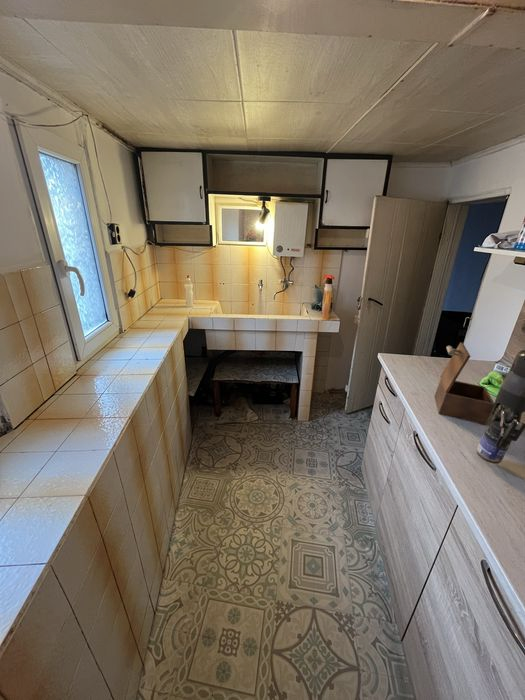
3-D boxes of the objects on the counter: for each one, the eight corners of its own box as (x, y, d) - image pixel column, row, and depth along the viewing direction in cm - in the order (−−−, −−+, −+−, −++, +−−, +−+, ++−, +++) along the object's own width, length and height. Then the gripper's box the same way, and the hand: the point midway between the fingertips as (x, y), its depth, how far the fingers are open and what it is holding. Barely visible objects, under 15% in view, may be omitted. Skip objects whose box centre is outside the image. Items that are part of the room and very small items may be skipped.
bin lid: (462, 342, 103) (447, 338, 104) (470, 356, 92) (453, 350, 94) (442, 377, 110) (428, 372, 112) (447, 393, 100) (432, 387, 101)
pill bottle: (496, 467, 79) (512, 437, 74) (472, 454, 83) (485, 424, 79) (504, 458, 82) (519, 428, 78) (480, 445, 87) (493, 417, 82)
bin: (476, 405, 109) (485, 386, 106) (485, 425, 99) (495, 404, 95) (434, 396, 114) (441, 377, 111) (438, 413, 104) (446, 393, 100)
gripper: (551, 407, 66) (522, 460, 73) (527, 379, 78) (504, 427, 85) (512, 399, 68) (487, 451, 75) (494, 373, 81) (474, 420, 88)
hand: (496, 438), depth 80 cm, fingers closed on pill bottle, 6 cm apart
